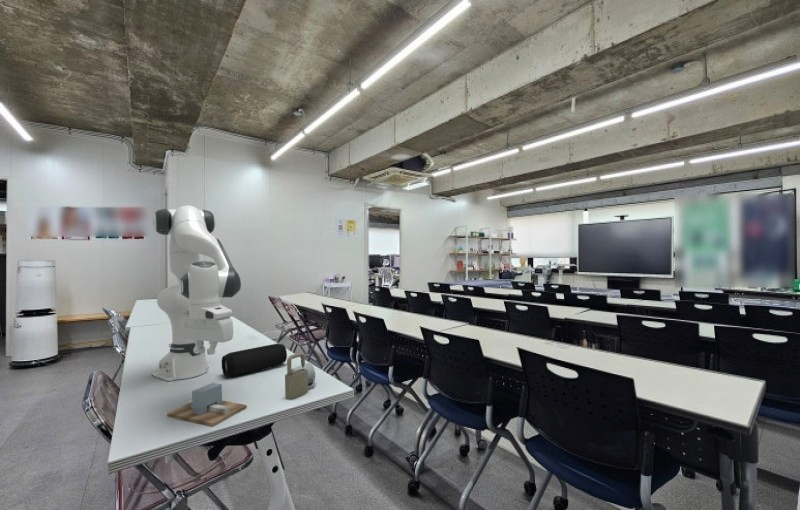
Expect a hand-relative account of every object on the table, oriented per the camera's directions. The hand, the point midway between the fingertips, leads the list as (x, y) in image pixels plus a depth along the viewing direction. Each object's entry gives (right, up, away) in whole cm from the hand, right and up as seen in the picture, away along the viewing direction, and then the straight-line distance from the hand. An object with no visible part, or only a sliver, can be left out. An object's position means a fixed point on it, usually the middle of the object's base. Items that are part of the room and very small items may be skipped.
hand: (206, 353), depth 112 cm
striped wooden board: (0, -19, 0) cm, 19 cm away
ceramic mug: (+26, -19, +21) cm, 39 cm away
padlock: (+26, -19, +12) cm, 34 cm away
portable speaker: (-1, -19, +40) cm, 45 cm away
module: (0, -18, 0) cm, 18 cm away
